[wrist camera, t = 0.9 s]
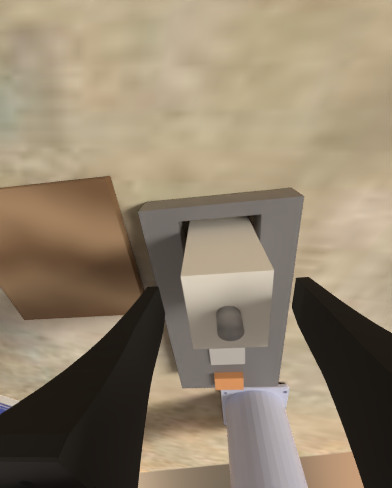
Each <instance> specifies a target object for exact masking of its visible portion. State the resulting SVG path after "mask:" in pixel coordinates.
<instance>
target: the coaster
mask: <svg viewBox="0 0 392 488" xmlns="http://www.w3.org/2000/svg"><path fill="white" fill-rule="evenodd" d="M0 286H1V288H2V289H3V290H4V292H5V293H6V295H7V296H8V298H9V299H10V300H11V302H12V303H13V305H14V306H15V307H16V309H17V310H18V312H19V313H20V315H21V316H22V317H23V319H24V320H33V319H52V318H72V317H91V316H111V315H125V314H126V312H127V311H128V310H129V309H130V308H131V307H132V305H133V304H134V303H135V302H136V300H137V299H138V298H139V297H140V296H141V294H142V293H143V292H144V290H143V286H142V283H141V280H140V276H139V273H138V269H137V266H136V263H135V259H134V256H133V252H132V249H131V245H130V242H129V239H128V235H127V232H126V228H125V225H124V222H123V218H122V215H121V211H120V208H119V205H118V201H117V198H116V194H115V191H114V187H113V184H112V181H111V177H110V176H105V177H96V178H87V179H78V180H68V181H59V182H50V183H41V184H32V185H23V186H14V187H4V188H0Z"/></svg>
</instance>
